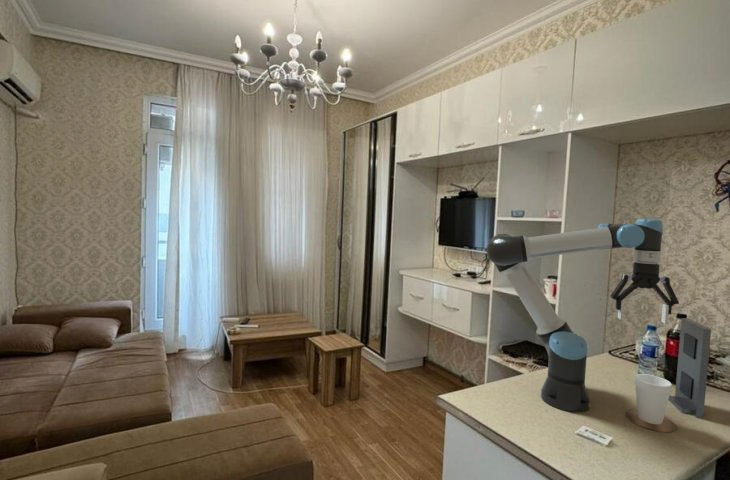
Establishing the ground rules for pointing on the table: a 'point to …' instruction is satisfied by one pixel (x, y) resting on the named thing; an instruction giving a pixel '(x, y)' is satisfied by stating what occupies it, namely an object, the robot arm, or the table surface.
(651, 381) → the foam cup
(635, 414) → the coaster
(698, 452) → the table surface
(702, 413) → the post
